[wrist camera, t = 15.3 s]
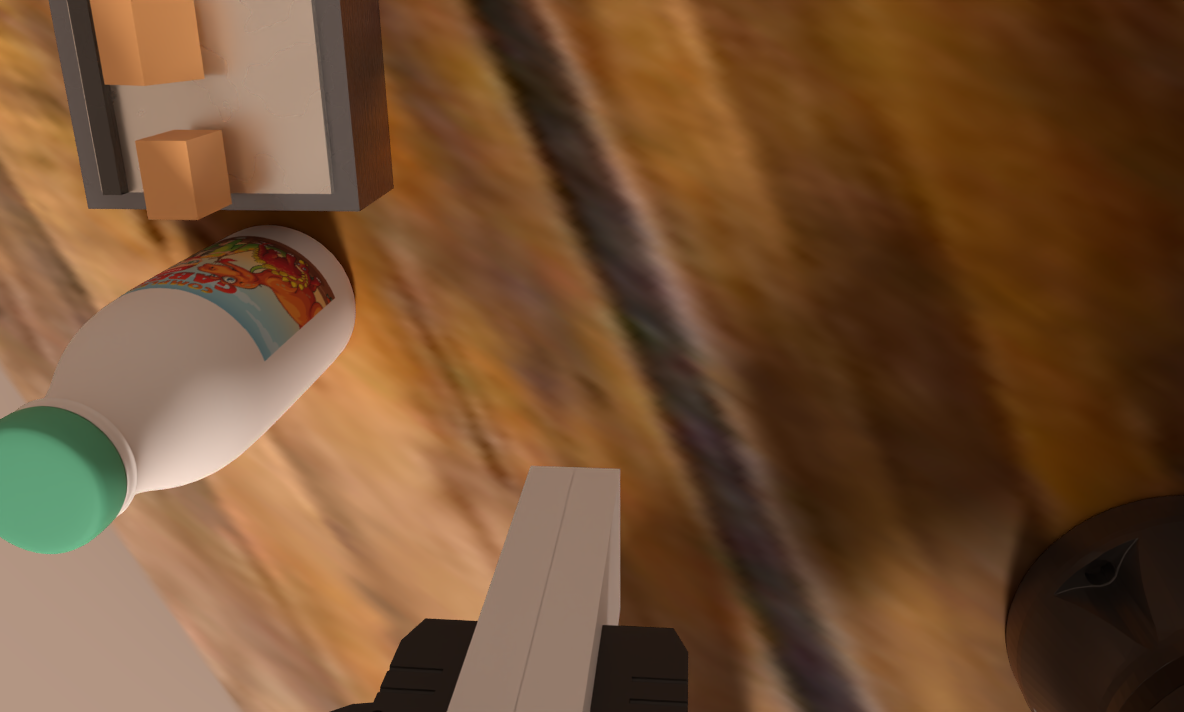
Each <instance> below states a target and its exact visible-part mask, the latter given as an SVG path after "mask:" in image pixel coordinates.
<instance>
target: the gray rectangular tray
mask: <svg viewBox="0 0 1184 712" xmlns="http://www.w3.org/2000/svg"><path fill="white" fill-rule="evenodd" d="M49 5H50V10H51V15H52V20H53V26H54V31H55V36H56V41H57V47H58V52H59V57H60V62H61V67H62V73H63V78H64V83H65V88H66V94H67V99H68V104H69V109H70V115H71V120H72V125H73V130H74V136H75V141H76V146H77V151H78V156H79V162H80V167H81V172H82V177H83V183H84V188H85V193H86V198H87V204H88V209H146V203H145V197H144V191H143V185H142V179H141V174H140V168H139V162H138V156H137V150H136V144H135V141H136V140H139V139H143V138H146V137H150V136H153V135H157V134H161V133H164V132H168V131H171V130H222V136H223V143H224V150H225V157H226V165H227V172H228V179H229V186H230V193H231V200H232V204H231V205H228V206H226V207H224V208H222V209H220V210H282V211H361V210H362V209H364V208H365V207H367V206H368V205H370V204H371V203H373V202H374V201H376V200H377V199H378V198H380V197H381V196H383V195H384V194H386V193H387V192H389V191H390V190H392V189H393V176H392V164H391V152H390V139H389V127H388V115H387V103H386V90H385V78H384V66H383V54H382V41H381V29H380V17H379V5H378V0H194V7H195V14H196V21H197V28H198V35H199V42H200V49H201V56H202V63H203V70H204V77H205V79H199V80H191V81H182V82H174V83H166V84H157V85H149V86H132V85H105V83H104V78H103V72H102V66H101V61H100V55H99V50H98V44H97V38H96V33H95V27H94V21H93V16H92V10H91V4H90V0H49Z"/></svg>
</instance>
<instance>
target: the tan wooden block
mask: <svg viewBox="0 0 1184 712" xmlns="http://www.w3.org/2000/svg"><path fill="white" fill-rule="evenodd" d="M135 144H136V150H137V156H138V162H139V168H140V174H141V179H142V185H143V191H144V197H145V203H146V209H147V215H148V220H199V219H201V218H203V217H205V216H208V215H210V214H212V213H214V212H216V211H218V210H220V209H222V208H224V207H226V206H228V205H231V204H232V200H231V193H230V186H229V179H228V172H227V165H226V157H225V150H224V143H223V136H222V130H171V131H168V132H164V133H161V134H157V135H153V136H150V137H146V138H143V139H139V140H136V141H135Z"/></svg>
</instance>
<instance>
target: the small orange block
mask: <svg viewBox="0 0 1184 712" xmlns="http://www.w3.org/2000/svg"><path fill="white" fill-rule="evenodd" d="M90 4H91V10H92V16H93V21H94V27H95V33H96V38H97V44H98V50H99V55H100V61H101V66H102V72H103V78H104V83H105V85H132V86H149V85H157V84H166V83H174V82H182V81H191V80H199V79H205V77H204V70H203V63H202V56H201V49H200V42H199V35H198V28H197V21H196V14H195V7H194V0H90Z"/></svg>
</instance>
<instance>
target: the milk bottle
mask: <svg viewBox="0 0 1184 712" xmlns="http://www.w3.org/2000/svg"><path fill="white" fill-rule="evenodd" d="M355 313H356V309H355V299H354V294H353V290H352V287H351V284H350V281H349V278H348V277H347V275H346V273H345V271H344V269H343V267H342V265H341V264H340V263H339V262H338V261H337V259H336V258H335V256H334V255H333V254H332V253H331V252H330V251H329V250H327V249H326V248H325V247H324V246H323V245H322V244H321V243H319V242H318V241H316V240H315V239H313V238H312V237H310V236H308V235H306V234H304V233H302V232H300V231H297V230H294V229H291V228H287V227H283V226H276V225H260V226H253V227H250V228H246V229H243V230H241V231H238V232H236V233H234V234H232V235H229V236H228V237H226V238H224V239H222V240H220V241H218V242H216V243H214V244H212V245H211V246H209V247H207V248H205V249H203V250H201V251H199V252H198V253H196V254H194V255H192V256H190V257H188V258H187V259H185V260H183V261H181V262H179V263H178V264H176V265H174V266H172V267H170V268H168V269H167V270H165V271H163V272H161V273H160V274H158V275H156V276H154V277H152V278H151V279H149V280H147V281H145V282H144V283H142V284H140V285H138V286H137V287H135V288H133V289H131V290H130V291H128V292H127V293H125V294H124V295H122V296H120V297H119V298H117V299H116V300H114V301H113V302H111V303H110V304H108V305H107V306H105V307H104V308H102V309H101V310H100V311H99V312H98V313H96V314H95V315H94V316H93V317H92V318H91V319H89V320H88V321H87V322H86V323H85V324H84V325H83V326H82V327H81V328H80V330H79V331H78V332H77V333H76V334H75V336H74V337H73V338H72V340H71V341H70V342H69V344H68V345H67V347H66V349H65V350H64V352H63V354H62V356H61V358H60V360H59V362H58V365H57V367H56V370H55V373H54V375H53V379H52V382H51V385H50V388H49V390H48V392H47V394H46V396H45V397H44V398H42V399H38V400H34V401H31V402H28V403H26V404H24V405H23V406H21V407H20V408H18V409H17V410H16V411H15V412H13V413H11V414H9V415H7V416H5V417H4V418H2V419H0V537H1V538H3V539H4V540H6V541H8V542H9V543H11V544H13V545H15V546H17V547H20V548H23V549H25V550H28V551H32V552H36V553H43V554H58V553H64V552H68V551H72V550H74V549H77V548H79V547H81V546H83V545H85V544H87V543H89V542H90V541H91V540H92V539H94V538H95V537H96V536H97V535H99V534H100V533H101V532H102V531H103V530H104V529H105V528H106V527H107V526H108V525H109V524H110V523H111V522H112V521H113V520H114V519H115V518H116V517H118V516H119V515H120V514H121V513H123V512H124V511H125V510H126V508H127V507H128V506H129V505H130V503H131V501H132V500H133V497H134V495H136V494H138V493H141V492H146V491H153V490H161V489H168V488H173V487H178V486H182V485H185V484H189V483H192V482H195V481H198V480H200V479H202V478H205V477H207V476H209V475H211V474H213V473H215V472H217V471H218V470H220V469H222V468H223V467H225V466H226V465H228V464H229V463H231V462H232V461H233V460H235V459H236V458H237V457H239V456H240V455H241V454H242V453H243V452H244V451H246V450H247V449H248V448H249V447H250V446H251V445H252V444H253V443H254V442H255V441H257V440H258V439H259V438H260V437H261V436H262V435H263V434H264V433H265V432H266V431H267V430H268V429H269V428H270V427H271V426H272V425H273V424H274V423H275V422H276V421H277V420H278V419H279V418H280V417H281V416H282V415H283V414H284V413H285V412H286V411H287V410H288V409H289V408H290V407H291V406H292V405H293V404H294V403H295V402H296V401H297V400H298V399H299V398H300V396H301V395H302V394H303V393H304V392H305V391H306V390H307V389H308V388H309V387H310V386H311V385H312V384H313V383H314V382H315V381H316V380H317V379H318V378H319V377H320V376H321V375H322V373H323V372H324V371H325V370H326V369H327V368H328V367H329V366H330V365H331V364H332V363H333V362H334V361H335V359H336V358H337V357H338V356H339V355H340V353H341V352H342V351H343V350H344V348H345V347H346V345H347V343H348V341H349V339H350V337H351V334H352V332H353V328H354V323H355Z"/></svg>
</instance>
